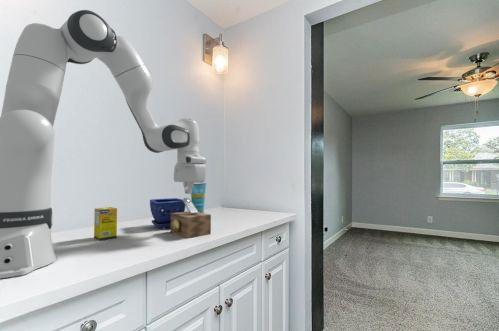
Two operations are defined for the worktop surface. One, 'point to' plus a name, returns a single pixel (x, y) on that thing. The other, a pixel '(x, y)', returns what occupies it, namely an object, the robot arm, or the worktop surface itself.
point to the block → (192, 224)
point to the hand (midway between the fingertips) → (188, 193)
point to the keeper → (190, 206)
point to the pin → (176, 225)
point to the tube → (198, 196)
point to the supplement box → (105, 223)
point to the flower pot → (165, 211)
